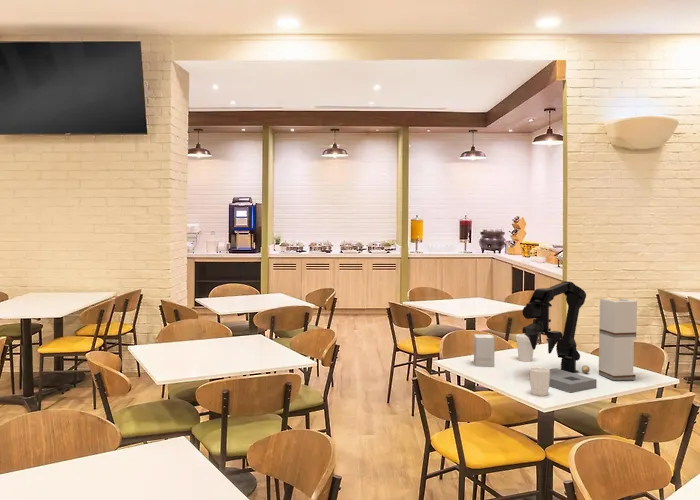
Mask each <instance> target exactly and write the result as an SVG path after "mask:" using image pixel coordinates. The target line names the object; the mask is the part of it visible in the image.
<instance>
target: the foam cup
mask: <svg viewBox="0 0 700 500" xmlns="http://www.w3.org/2000/svg"><path fill="white" fill-rule="evenodd" d="M525 334H526V333H518V334H516V335H515V337H516V338H515V340H516V346H517V347H516V349H517V354H518V355H517V356H518V360H519V361H520V362H524V363H531V362H532V361H533V356H534V350H533V349H532V346H531V343H530V340H529V338H528V337H527V336H526V335H525Z"/></svg>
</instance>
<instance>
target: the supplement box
mask: <svg viewBox="0 0 700 500" xmlns="http://www.w3.org/2000/svg"><path fill="white" fill-rule="evenodd" d="M473 364H474V366H475V367H476V368H495V337H494V335H492V334H480V333H479V334H477V333H476V334H475V333H474V334H473Z"/></svg>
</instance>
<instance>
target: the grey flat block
mask: <svg viewBox="0 0 700 500" xmlns="http://www.w3.org/2000/svg"><path fill="white" fill-rule="evenodd" d="M548 369H549V370H550V381H549V388H553V389H557V390H559V391H563V392H566V393H570V394H572V393H575V392H580V391H586V390H587V391H588V390H591V389H597V386H598V385H597V383H598V382H597V379H596V378H592V377H589V376H585V375H582V374H577V373H571V372H567V371H564V370H560V369H561V368H560V369H559V368H555V367H554V368H548Z"/></svg>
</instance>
